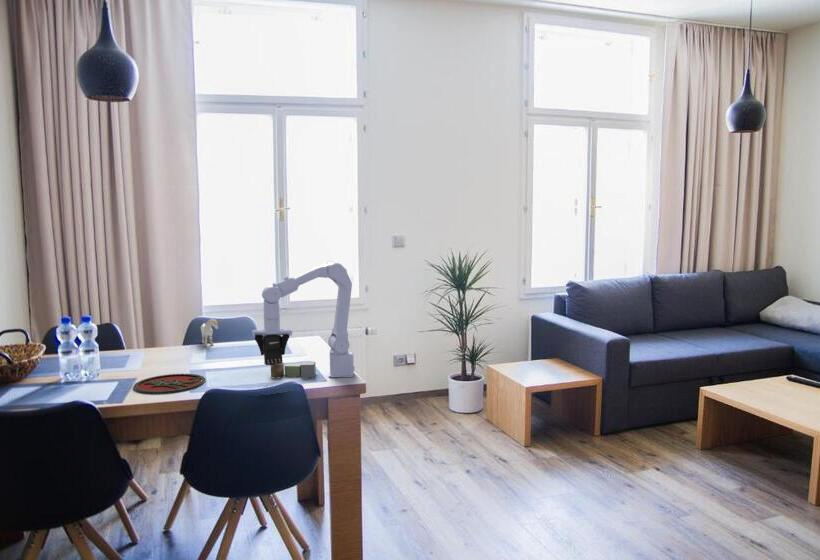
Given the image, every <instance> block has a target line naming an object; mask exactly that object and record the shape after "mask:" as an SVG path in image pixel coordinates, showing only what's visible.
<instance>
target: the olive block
mask: <svg viewBox="0 0 820 560" xmlns="http://www.w3.org/2000/svg"><path fill="white" fill-rule="evenodd" d="M301 364H302V363H286V364H285V365H284V376H285V375H287V376H288V377H300V376H301ZM287 376H286V377H287Z"/></svg>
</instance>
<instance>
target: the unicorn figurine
mask: <svg viewBox="0 0 820 560" xmlns="http://www.w3.org/2000/svg"><path fill="white" fill-rule="evenodd" d="M225 320H226V319H225V318H224V319H220V320H217V318H216V319H214V318H213V319H208V320H207V321H206V322H204V323H202V325H201V326H200V332H201V337H202V338H201V344H202V345H203V346H204V347H207V346H208V339H209V343H210V346H214V342H213V333H214V331H213V328H212V327H214V329H215V330H218V329H219V325H218V324H219V323H221V322H223V321H225Z"/></svg>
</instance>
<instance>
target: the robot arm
mask: <svg viewBox="0 0 820 560" xmlns="http://www.w3.org/2000/svg"><path fill="white" fill-rule="evenodd" d="M317 278H323V279H324V278H326V279H327V278H328V279H331V281H333V282H334V284H335V285H336V286H337V287H338V289H337V290H338V291H337V297H336V307H335V315H334V325H333V328H332V330H331V333H330V336H329V337H328V340H327V341H328V346H329V348H330V350H329V373H328V376H327V377H328V378H352V377H354V374H355V366H354V363H355V362H354V361H355V360H354V359H355V358H354V357H355V356H354V354H355V353H354V352H350V351H349V349H350V342H349V333H348V322H349V314H350V305H351V304H350V303H351V298H352V290H353V289H352V287H353V283H352V281H351V278H350V275H349V274H348V270H347V269H346V268H345V267H344V266H343V265H342V264H340V263H338V262H334V261H328V262H326V263H322V264H320V265H317V266H316V267H313V268H312V269H310V270H308V271H306V272H303V273H302V274H301V275H298V276H296V277H293V276H289V277H288V276H285V277H283V279H282V280H280V281H278V282H276V283H275V282H273V283H272V285H268V286H266V287H264V288H263V290H262V293H261V297H262V299H263V325H264V326H263V329H253V330H252V331H251V336H252V337H254V340H255V342H256V344H257V346H258V348H259V352H260V355H261V356H264V352H263V337H264V336H266V335H281V340H282V356H283V355H285V354H286V348H287V344H288V341H289V338H290V336H291V337H292V335H293V329H285V328H281V322H280V321H281V320H280V319H281V318H280V304H279V301H280V299H281V298H284V297H286V296H288V295H290V294H293V293H295V292H296V291H297V292H298V289H299V287H300V286H301V285H304V284H306V283H309V282H310V281H313V280H315V279H317ZM353 372H354V373H353Z"/></svg>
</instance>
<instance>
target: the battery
mask: <svg viewBox="0 0 820 560" xmlns="http://www.w3.org/2000/svg"><path fill="white" fill-rule="evenodd" d="M281 337H282V335H266V336H264V337H263V352H264V355H263V364H264V365H265V366H271V365H276V364H281V363H284V362H283V355H282V340H281Z"/></svg>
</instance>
